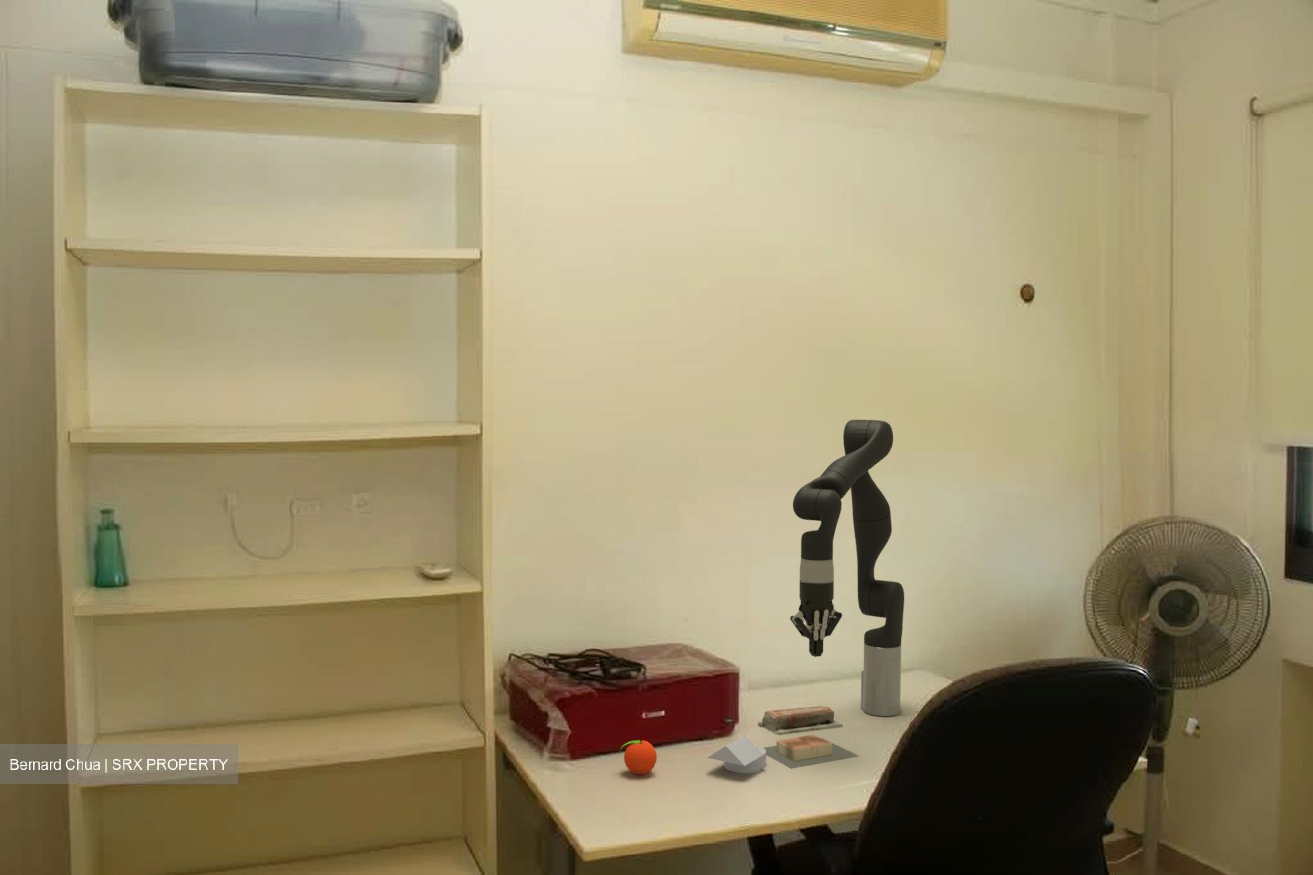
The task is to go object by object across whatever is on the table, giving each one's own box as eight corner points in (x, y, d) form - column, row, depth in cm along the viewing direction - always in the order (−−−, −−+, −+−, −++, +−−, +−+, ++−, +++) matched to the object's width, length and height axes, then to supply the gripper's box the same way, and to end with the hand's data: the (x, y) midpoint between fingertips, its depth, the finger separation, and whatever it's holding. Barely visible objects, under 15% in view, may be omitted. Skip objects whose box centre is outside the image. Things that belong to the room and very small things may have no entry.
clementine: (618, 778, 228) (618, 745, 228) (619, 767, 235) (619, 734, 235) (656, 779, 228) (656, 745, 228) (656, 767, 235) (657, 735, 235)
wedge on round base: (744, 781, 227) (773, 764, 238) (744, 749, 227) (773, 733, 238) (707, 773, 232) (736, 756, 243) (707, 741, 232) (736, 726, 243)
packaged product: (777, 718, 256) (757, 707, 265) (777, 739, 256) (757, 727, 266) (843, 710, 263) (822, 699, 272) (843, 730, 263) (822, 719, 272)
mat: (755, 751, 246) (755, 749, 246) (821, 740, 254) (821, 737, 254) (791, 770, 234) (791, 768, 234) (859, 758, 242) (859, 755, 242)
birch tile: (813, 745, 249) (776, 751, 245) (813, 734, 249) (776, 740, 244) (831, 754, 243) (794, 761, 238) (832, 742, 243) (794, 749, 238)
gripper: (831, 573, 250) (830, 648, 251) (782, 578, 244) (781, 655, 245) (851, 578, 243) (850, 656, 244) (801, 583, 237) (800, 663, 238)
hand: (815, 655), depth 244 cm, fingers closed
